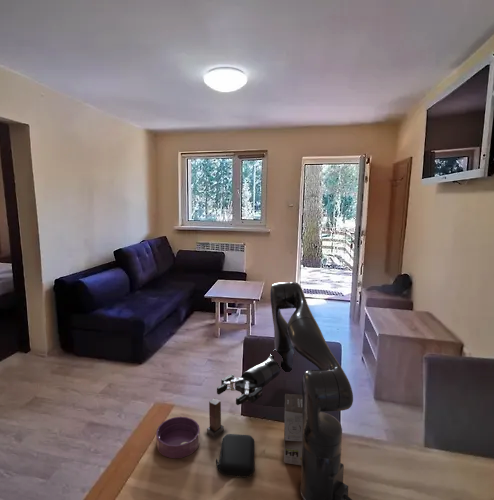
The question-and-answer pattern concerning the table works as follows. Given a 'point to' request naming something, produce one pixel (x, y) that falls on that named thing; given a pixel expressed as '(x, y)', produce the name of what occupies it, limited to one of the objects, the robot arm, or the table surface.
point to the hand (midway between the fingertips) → (226, 396)
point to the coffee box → (293, 429)
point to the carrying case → (236, 455)
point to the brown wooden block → (215, 418)
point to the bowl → (178, 437)
